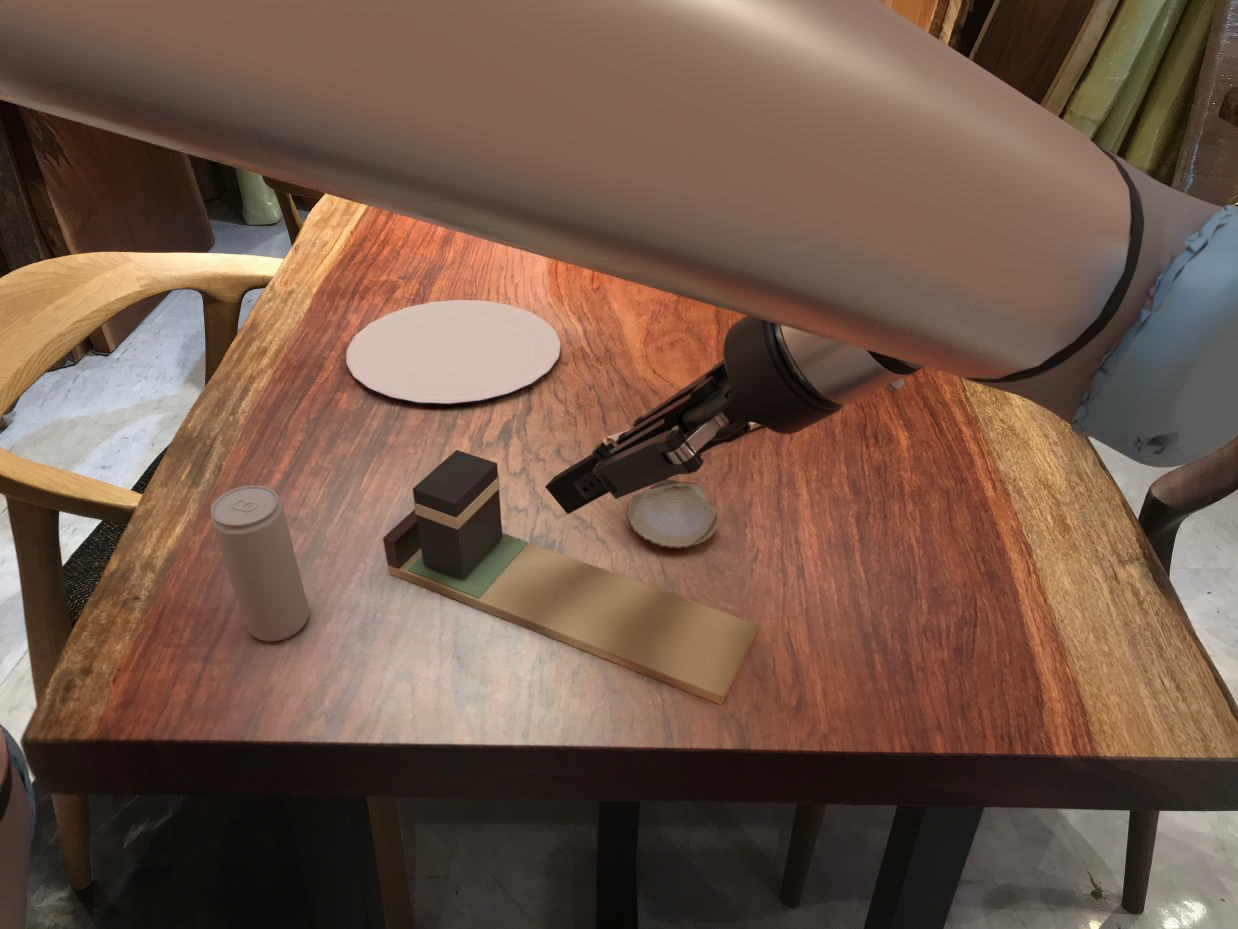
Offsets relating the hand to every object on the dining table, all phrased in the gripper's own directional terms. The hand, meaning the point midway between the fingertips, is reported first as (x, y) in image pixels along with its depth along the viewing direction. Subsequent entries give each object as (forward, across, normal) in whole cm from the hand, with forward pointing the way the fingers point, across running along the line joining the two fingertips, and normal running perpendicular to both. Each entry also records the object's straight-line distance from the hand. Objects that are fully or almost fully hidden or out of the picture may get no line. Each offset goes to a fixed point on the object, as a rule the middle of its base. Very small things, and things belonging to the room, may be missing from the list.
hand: (561, 495), depth 67 cm
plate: (+30, +30, +14) cm, 45 cm away
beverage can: (+21, -12, +5) cm, 25 cm away
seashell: (+5, +13, -11) cm, 18 cm away
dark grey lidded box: (+14, 0, 0) cm, 14 cm away
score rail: (+8, 0, -8) cm, 11 cm away
